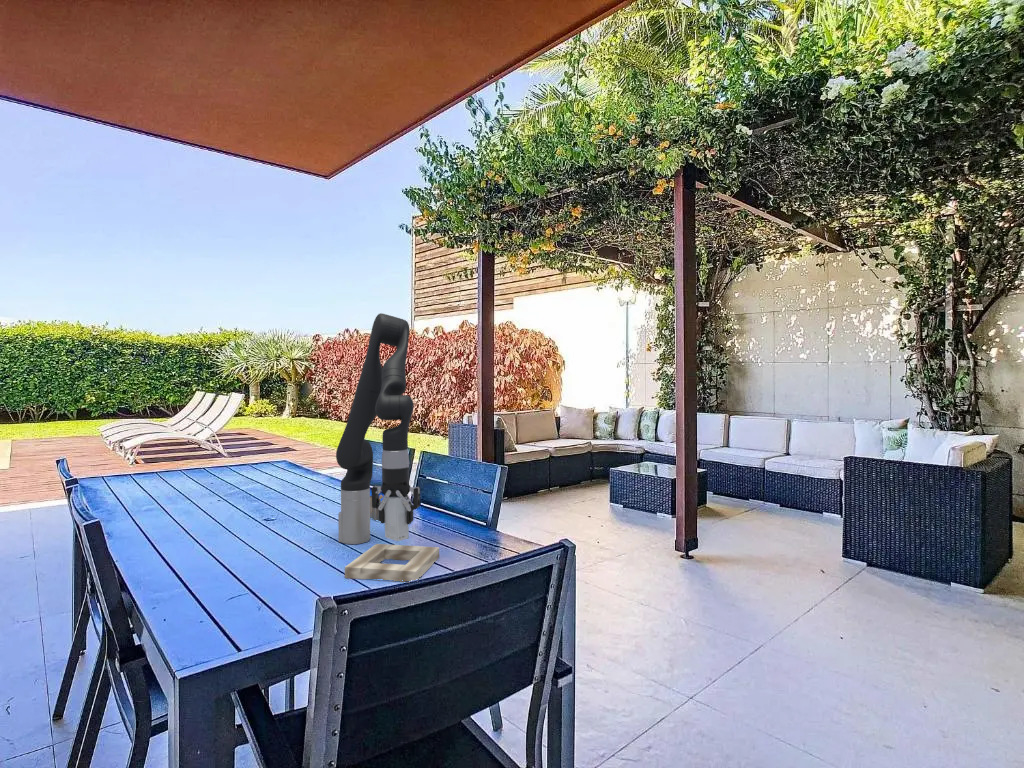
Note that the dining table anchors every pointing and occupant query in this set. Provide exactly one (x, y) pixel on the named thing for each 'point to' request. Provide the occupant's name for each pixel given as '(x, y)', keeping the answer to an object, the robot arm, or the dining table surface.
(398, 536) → the skincare box
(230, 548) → the dining table surface
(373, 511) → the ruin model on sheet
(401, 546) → the socket block
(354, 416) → the robot arm
